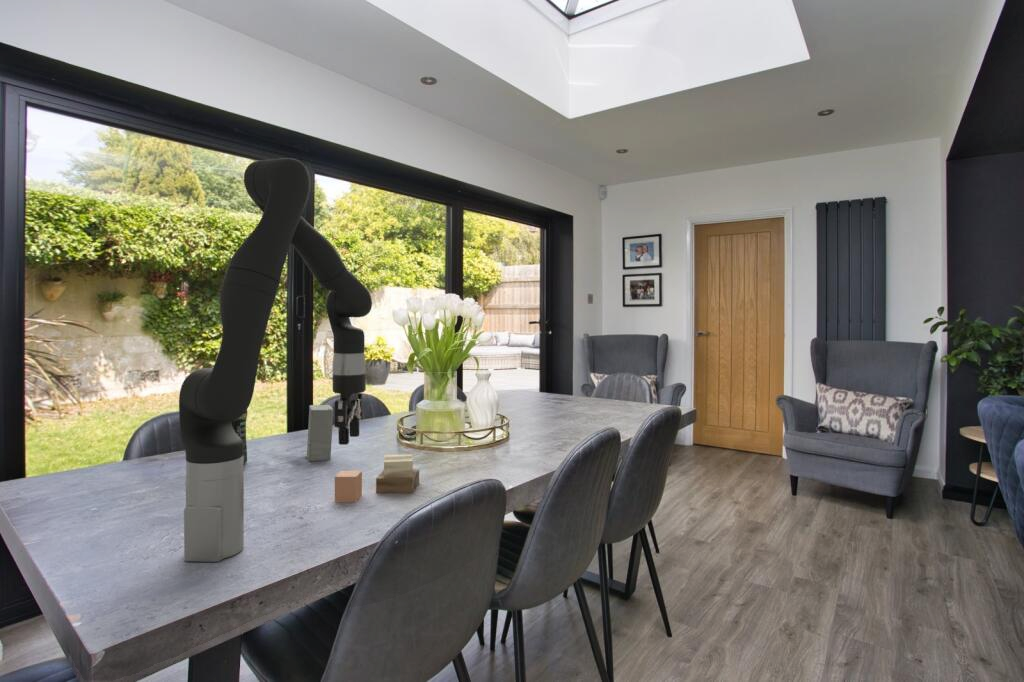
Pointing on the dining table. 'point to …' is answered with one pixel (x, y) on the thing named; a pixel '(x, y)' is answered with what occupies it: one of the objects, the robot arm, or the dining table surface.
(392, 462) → the tower middle
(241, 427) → the coffee jar
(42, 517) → the dining table surface
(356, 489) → the peach cube on top
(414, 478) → the tower base
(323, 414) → the skincare box
